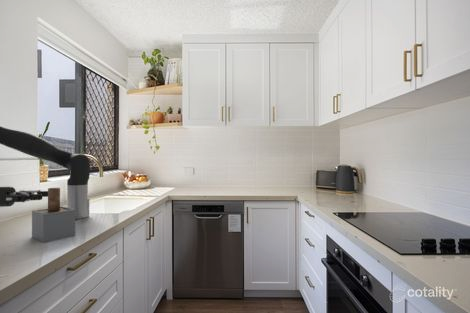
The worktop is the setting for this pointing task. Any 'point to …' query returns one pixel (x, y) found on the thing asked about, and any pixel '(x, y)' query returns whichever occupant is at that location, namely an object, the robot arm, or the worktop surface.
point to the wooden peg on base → (53, 201)
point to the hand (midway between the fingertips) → (46, 195)
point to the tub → (53, 224)
